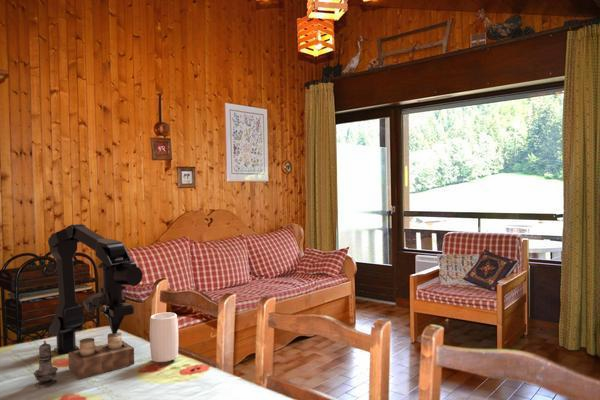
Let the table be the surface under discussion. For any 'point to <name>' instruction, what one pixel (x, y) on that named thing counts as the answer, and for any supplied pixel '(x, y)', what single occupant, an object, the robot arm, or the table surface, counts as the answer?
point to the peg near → (87, 347)
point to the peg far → (114, 341)
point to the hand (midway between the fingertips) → (114, 333)
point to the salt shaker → (45, 367)
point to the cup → (164, 336)
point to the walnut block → (100, 360)
